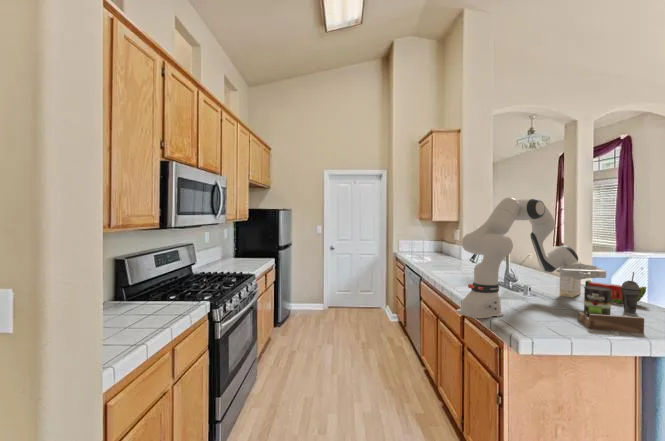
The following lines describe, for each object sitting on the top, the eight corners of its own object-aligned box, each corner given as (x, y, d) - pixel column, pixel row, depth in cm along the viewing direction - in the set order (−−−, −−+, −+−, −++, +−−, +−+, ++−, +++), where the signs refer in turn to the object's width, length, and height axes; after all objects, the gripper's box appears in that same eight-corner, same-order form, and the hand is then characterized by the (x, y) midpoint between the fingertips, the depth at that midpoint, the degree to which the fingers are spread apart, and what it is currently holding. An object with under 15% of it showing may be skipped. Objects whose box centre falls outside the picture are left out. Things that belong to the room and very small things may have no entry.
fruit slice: (584, 298, 210) (585, 281, 209) (587, 296, 214) (587, 279, 214) (644, 307, 191) (645, 288, 191) (645, 304, 195) (646, 286, 195)
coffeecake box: (567, 292, 226) (568, 260, 226) (581, 294, 221) (581, 262, 220) (558, 295, 217) (559, 262, 216) (572, 297, 211) (573, 264, 211)
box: (578, 319, 168) (578, 306, 168) (626, 323, 163) (627, 309, 163) (590, 328, 155) (590, 314, 155) (643, 333, 150) (644, 318, 150)
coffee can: (608, 322, 164) (609, 291, 164) (581, 317, 171) (581, 287, 171) (612, 318, 171) (613, 288, 171) (586, 313, 178) (586, 284, 178)
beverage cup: (619, 309, 186) (620, 270, 186) (637, 311, 183) (638, 271, 182) (621, 312, 180) (622, 272, 180) (640, 314, 176) (641, 273, 176)
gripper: (555, 264, 198) (564, 268, 185) (599, 265, 193) (611, 269, 180) (555, 276, 199) (563, 280, 185) (599, 277, 193) (611, 282, 180)
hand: (587, 275), depth 182 cm, fingers closed
